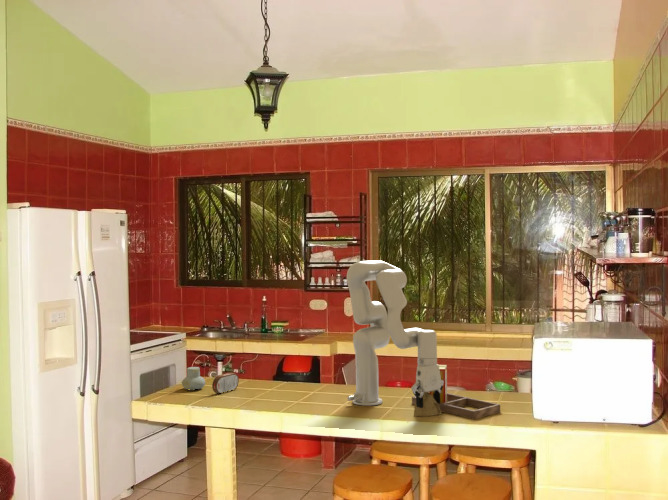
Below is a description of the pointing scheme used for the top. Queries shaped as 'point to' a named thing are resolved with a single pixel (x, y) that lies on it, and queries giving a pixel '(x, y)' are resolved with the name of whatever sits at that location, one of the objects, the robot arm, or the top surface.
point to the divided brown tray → (460, 401)
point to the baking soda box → (444, 390)
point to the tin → (225, 382)
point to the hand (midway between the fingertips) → (428, 405)
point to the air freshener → (193, 379)
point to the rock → (427, 406)
